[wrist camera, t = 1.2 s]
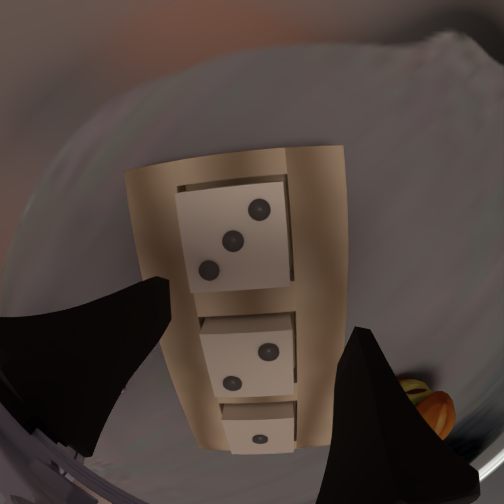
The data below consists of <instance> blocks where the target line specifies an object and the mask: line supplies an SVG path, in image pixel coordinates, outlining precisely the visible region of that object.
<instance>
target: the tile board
mask: <svg viewBox="0 0 504 504" xmlns="http://www.w3.org/2000/svg"><path fill="white" fill-rule="evenodd" d="M124 173H125V182H126V190H127V198H128V205H129V211H130V218H131V224H132V230H133V235H134V241H135V246H136V251H137V256H138V261H139V266H140V270H141V275H142V279H143V281H144V280H146V279H149V278H152V277H155V276H159V277H162V278H165V279H168V280H169V284H170V301H171V315H172V320H171V322H170V323H169V325H168V327H167V329H166V331H165V332H164V334H163V336H162V337H161V339H160V340H159V342H160V346H161V349H162V352H163V355H164V358H165V361H166V364H167V367H168V370H169V373H170V376H171V379H172V381H173V384H174V387H175V390H176V392H177V395H178V398H179V400H180V403H181V405H182V408H183V410H184V413H185V415H186V418H187V420H188V423H189V425H190V427H191V430H192V432H193V434H194V436H195V439H196V441H197V443H198V445H199V447H200V449H209V450H230V447H229V443H228V440H227V437H226V434H225V430H224V427H223V424H222V420H221V419H222V414H223V408H224V403H267V402H283V401H292V402H293V413H294V449H296V448H306V447H315V446H323V445H329V444H330V442H331V437H332V423H333V402H334V384H335V377H336V371H337V364H338V362H339V360H340V358H341V356H342V353H343V351H344V341H345V329H346V313H347V293H348V209H347V189H346V174H345V161H344V150H343V145H339V146H305V147H287V148H273V149H261V150H250V151H241V152H232V153H224V154H216V155H209V156H202V157H196V158H189V159H183V160H177V161H172V162H166V163H161V164H156V165H151V166H146V167H141V168H137V169H132V170H128V171H124ZM270 181H283V187H284V198H285V211H286V224H287V238H288V253H289V269H290V287H277V288H265V289H251V290H236V291H220V292H202V293H191V292H190V287H189V282H188V277H187V271H186V265H185V260H184V254H183V248H182V241H181V235H180V228H179V222H178V215H177V207H176V200H175V193H180V192H184V191H189V190H196V189H204V188H212V187H220V186H229V185H238V184H248V183H259V182H270ZM279 312H290V318H291V324H292V335H293V373H294V394H292V395H279V396H262V397H215V396H214V392H213V388H212V385H211V381H210V377H209V373H208V369H207V365H206V361H205V357H204V353H203V348H202V344H201V340H200V335H199V334H200V331H201V329H202V326H203V324H204V321H205V319H206V317H209V316H232V315H250V314H265V313H279ZM230 451H231V450H230Z"/></svg>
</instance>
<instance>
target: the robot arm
mask: <svg viewBox="0 0 504 504" xmlns="http://www.w3.org/2000/svg"><path fill="white" fill-rule="evenodd" d="M171 320H172V315H171V301H170V284H169V280H168V279H165V278H162V277H159V276H155V277H152V278H149V279H146V280H144V281H141V282H139V283H137V284H134V285H132V286H129V287H127V288H125V289H122V290H120V291H118V292H115V293H113V294H110V295H108V296H105V297H102V298H100V299H97V300H94V301H92V302H89V303H86V304H83V305H80V306H77V307H73V308H70V309H66V310H62V311H57V312H52V313H47V314H42V315H34V316H25V317H0V504H97V503H98V500H97V499H95V498H94V497H93V496H91V495H90V494H88V493H87V492H86V491H85V490H83V489H82V488H80V487H79V486H77V485H76V484H74V483H73V482H72V481H73V480H74V479H76V480H78V481H79V482H81V483H82V484H83V485H85V486H86V487H87V488H89V489H90V490H92V491H93V492H95V493H97V494H98V495H100V496H101V497H103V498H104V499H106V500H107V501H109V502H111V503H112V504H148V503H146V502H144V501H142V500H140V499H138V498H136V497H134V496H133V495H131V494H129V493H127V492H125V491H123V490H122V489H120V488H118V487H116V486H115V485H113V484H111V483H110V482H108V481H106V480H105V479H103V478H102V477H100V476H99V475H97V474H95V473H94V472H92V471H91V470H90V469H88V468H87V467H85V466H84V465H83V464H84V460H85V457H91V456H92V455H93V452H94V449H95V447H96V444H97V442H98V439H99V436H100V434H101V432H102V429H103V427H104V425H105V423H106V421H107V418H108V416H109V414H110V412H111V410H112V409H113V407H114V405H115V403H116V401H117V399H118V397H119V396H120V394H121V393H124V391H125V388H124V387H125V385H126V384H127V382H128V381H129V379H130V378H131V376H132V375H133V374H134V372H135V371H136V370H137V369H138V367H139V366H140V365H141V364H142V362H143V361H144V360H145V358H146V357H147V356H148V355H149V353H150V352H151V351H152V349H153V348H154V347H155V346H156V344H157V343H158V342H159V340H160V339H161V337H162V336H163V334H164V332H165V331H166V329H167V327H168V325H169V323H170V322H171ZM479 496H480V482H479V473H478V471H477V470H476V469H474V468H473V467H472V466H471V465H469V464H468V463H467V462H465V461H464V460H463V459H462V458H460V457H459V456H458V455H457V454H456V453H455V452H454V451H453V450H452V449H451V448H450V447H449V446H448V445H447V444H446V443H445V442H444V441H443V440H442V439H441V438H440V437H439V436H438V435H437V434H436V432H435V431H434V430H433V429H432V428H431V427H430V426H429V424H428V423H427V422H426V421H425V419H424V418H423V417H422V416H421V414H420V413H419V411H418V410H417V409H416V407H415V406H414V405H413V403H412V402H411V400H410V399H409V397H408V396H407V394H406V393H405V391H404V389H403V388H402V386H401V384H400V383H399V381H398V380H397V378H396V376H395V374H394V373H393V371H392V369H391V367H390V365H389V364H388V362H387V360H386V358H385V356H384V354H383V352H382V351H381V349H380V347H379V345H378V343H377V341H376V339H375V337H374V335H373V333H372V332H371V330H370V329H366V328H361V327H356V326H355V327H354V330H353V332H352V334H351V336H350V338H349V341H348V343H347V345H346V347H345V349H344V351H343V353H342V356H341V358H340V360H339V362H338V364H337V371H336V377H335V384H334V402H333V423H332V438H331V446H330V451H329V456H328V460H327V465H326V469H325V473H324V477H323V481H322V484H321V488H320V491H319V494H318V497H317V500H316V504H470V503H472V502H474V501H475V500H477V498H479Z"/></svg>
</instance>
